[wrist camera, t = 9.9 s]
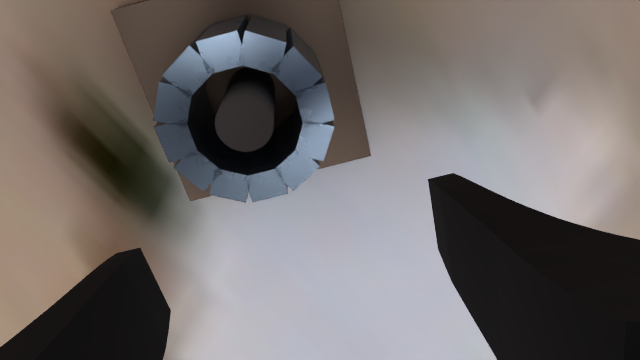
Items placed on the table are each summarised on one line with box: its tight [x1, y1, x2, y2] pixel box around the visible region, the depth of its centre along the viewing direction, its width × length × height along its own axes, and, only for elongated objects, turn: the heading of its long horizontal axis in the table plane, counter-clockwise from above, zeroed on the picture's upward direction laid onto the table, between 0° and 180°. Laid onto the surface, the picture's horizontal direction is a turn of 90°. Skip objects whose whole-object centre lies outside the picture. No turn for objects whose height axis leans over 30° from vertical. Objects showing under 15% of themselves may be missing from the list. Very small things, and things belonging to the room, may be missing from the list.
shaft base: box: [111, 0, 371, 201], centre depth 17 cm, size 8×8×5 cm
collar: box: [153, 14, 335, 202], centre depth 17 cm, size 6×6×4 cm
